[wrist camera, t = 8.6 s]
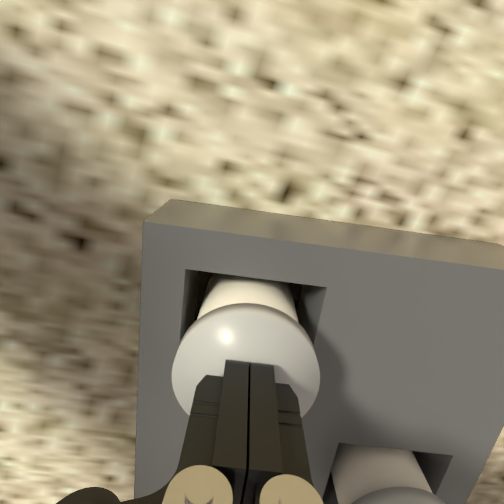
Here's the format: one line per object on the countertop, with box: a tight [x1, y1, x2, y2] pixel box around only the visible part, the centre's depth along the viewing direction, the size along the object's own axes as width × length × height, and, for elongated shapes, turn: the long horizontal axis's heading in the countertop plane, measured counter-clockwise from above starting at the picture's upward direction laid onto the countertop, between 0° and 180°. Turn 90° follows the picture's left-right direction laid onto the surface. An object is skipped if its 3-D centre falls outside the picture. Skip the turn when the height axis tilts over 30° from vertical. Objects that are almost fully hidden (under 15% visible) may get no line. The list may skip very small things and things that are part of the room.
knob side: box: [331, 443, 446, 504], centre depth 16 cm, size 5×5×6 cm
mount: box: [134, 199, 504, 504], centre depth 17 cm, size 22×15×4 cm
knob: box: [172, 273, 320, 418], centre depth 13 cm, size 5×5×6 cm
